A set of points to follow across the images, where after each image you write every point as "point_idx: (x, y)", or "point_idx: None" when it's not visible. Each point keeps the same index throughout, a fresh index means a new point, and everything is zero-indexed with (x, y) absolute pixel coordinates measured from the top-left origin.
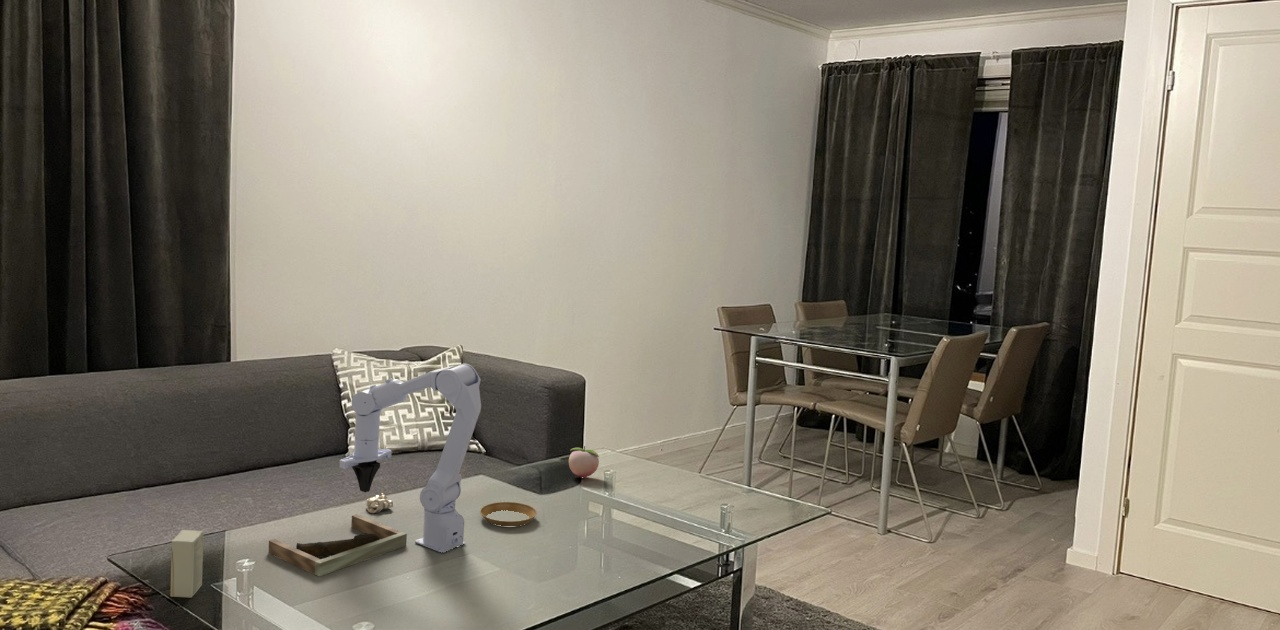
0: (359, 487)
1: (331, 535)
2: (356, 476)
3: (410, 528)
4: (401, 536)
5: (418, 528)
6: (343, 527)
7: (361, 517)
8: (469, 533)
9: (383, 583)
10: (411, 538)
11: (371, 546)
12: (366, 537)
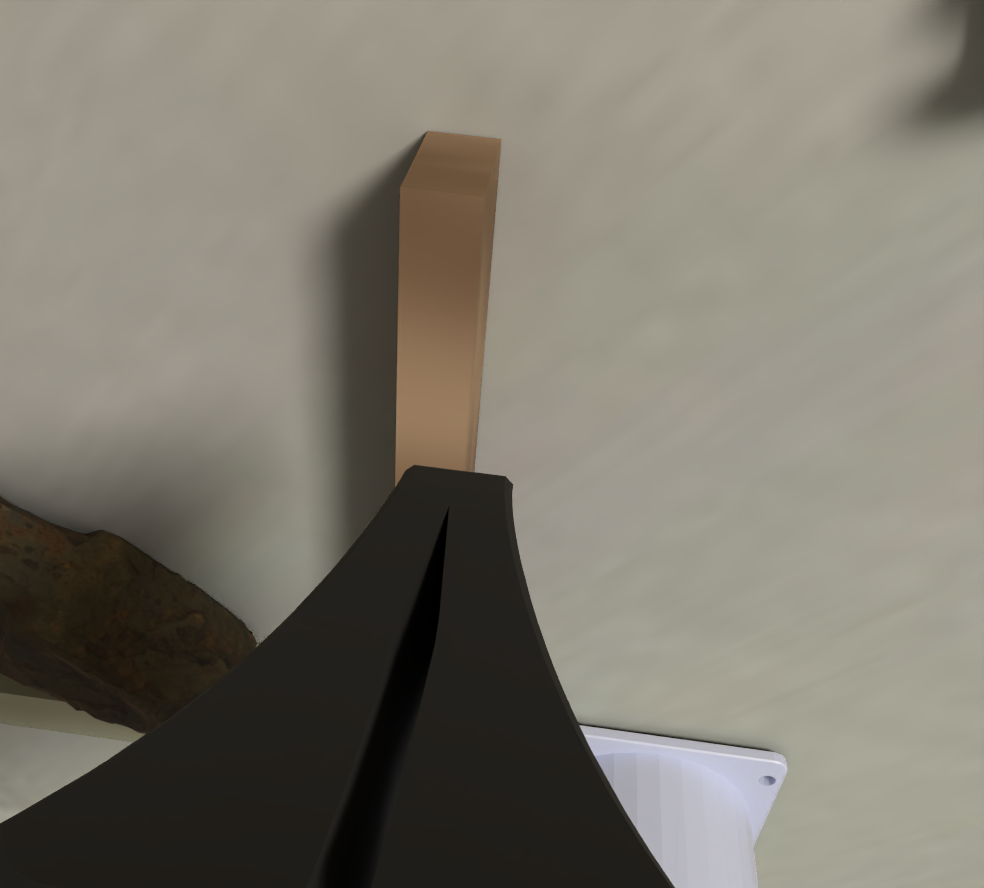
0: (389, 497)
1: (110, 140)
2: (262, 642)
3: (783, 561)
4: None
5: (823, 604)
6: (358, 60)
7: (440, 321)
8: (929, 854)
9: None
10: (595, 664)
11: (85, 730)
12: (76, 708)
